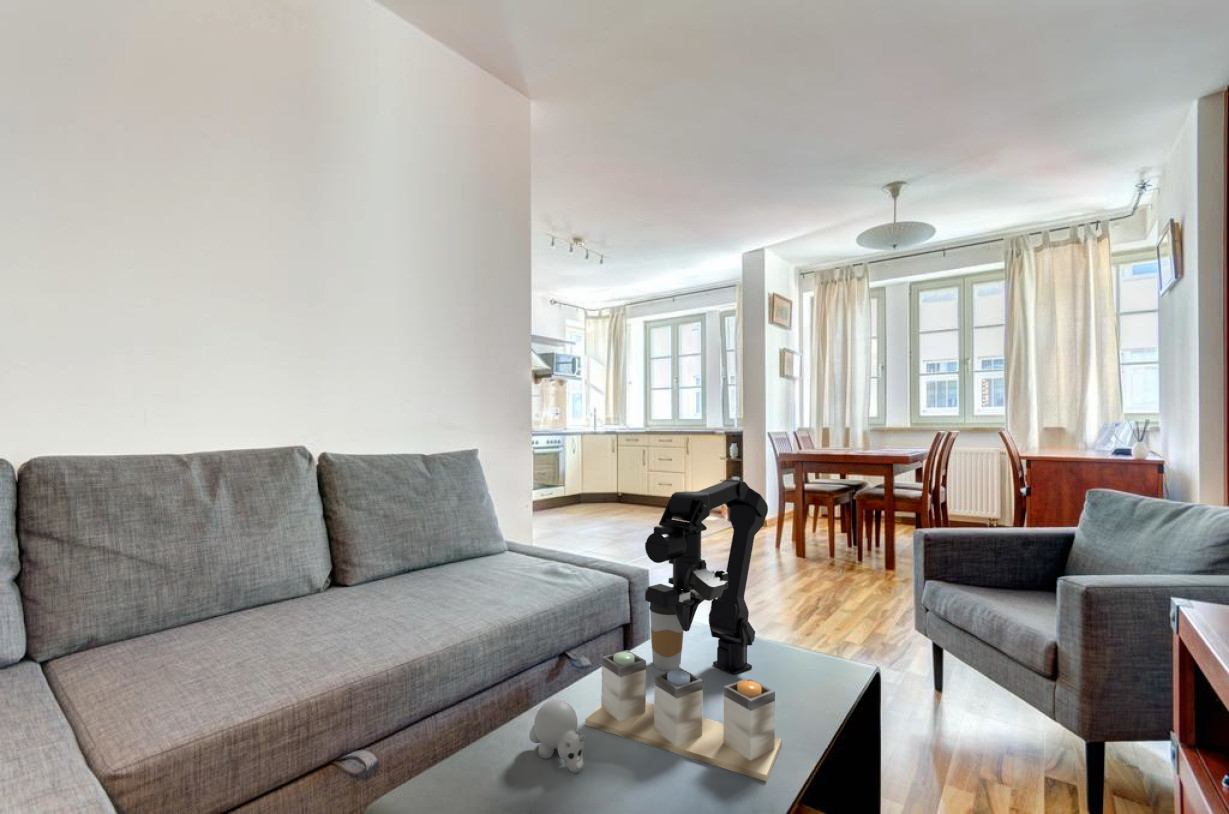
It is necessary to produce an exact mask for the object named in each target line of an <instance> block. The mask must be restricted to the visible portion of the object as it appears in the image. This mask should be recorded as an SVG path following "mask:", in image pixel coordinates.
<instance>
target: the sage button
mask: <svg viewBox="0 0 1229 814" xmlns="http://www.w3.org/2000/svg"><path fill="white" fill-rule="evenodd" d="M615 653H616V654H615ZM615 653H613V654H614V659H613V662H615V663H616V664H618V665H619V666H625V665H628V664H631V663H634V659H635V656H634V655H633V654H634V653H633V652H632V653H633V654H632V653H628V652H622V651H619V653H618V652H615Z"/></svg>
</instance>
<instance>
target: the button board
mask: <svg viewBox="0 0 1229 814" xmlns="http://www.w3.org/2000/svg"><path fill="white" fill-rule="evenodd" d="M619 652H620V651H619ZM619 652H615V653H611V654H609V655H604V656H602V657H601V700H600V701H601V705H600V706H599V707H597V708H596V709H595V710H594V711H593V712H591V714H590V715H589V716H588V717H586V719H584V720H585V721H584V722H585V726H587V727H591V728H594V729H598V730H601V731H603V732H607V733H609V734H613V735H616V736H620V737H623V738H625V739H629V740H632V741H636V742H639V743H641V742H642V743H641V744H645V745H648V746H651V747H654V746H655V748H658V749H662V750H663V751H667V750H668V751H667V752H671V753H673V752H674V753H675V754H677V755H680V756H683V757H687V758H690V759H693V760H697V761H699V762H703V763H705V764H709V765H712V766H715V767H718V768H721V769H725V770H728V771H731V772H735V773H737V774H741V775H744V776H748V777H751V778H754V779H757V780H760V781H764V782H767V781H768V779H769V776H770V774H771V772H772V770H773V767H774V765H775V762H776V759H777V757H778V754H779V753H780V751H781V748H782V746H783V739H782V738H779V737H776V735H775V734H776V733H775V729H776V727H775V726H776V691H775V690H773V689H772V688H769V687H767V686H766V685H763V684H762V683H759V682H757V681H756V680H753V679H751V678H749V677H746V678H744V679H741V680H738V681H736V682H733V683H730V684H726V685H724V686H723V722H719V721H717V720H713V719H709V718H706V717H704V716H703V712H704V711H703V709H704V708H703V704H704V703H703V701H704V698H703V696H704V695H703V694H704V691H703V690H704V689H703V688H704V680H703V679H701V678H700V677H698V676H696V675H694V674H692V673H691V672H689V671H687V670H685V669H684V668H681V667H678V668H677V669H674V670H681V671H685V672H687V673H689V674H690V683H687V684H684V685H681V686H678V687H677V686H675V685H673V684H672V683H670V682H668V681H667V674H668V672H670V671H673V670H667V671H664V672H663V673H662V672H661V673H659V674H656V675H654V699H653V700H654V703H652V702H647V701H646V697H647V696H646V695H647V694H646V693H647V692H646V691H647V689H646V688H647V683H646V682H647V660H645V659H644V658H642V657H640V656H638V655H637V654H635V653H633V652H631V651H630V650H628V649H627V650H623V651H621V652H628V653H632V654H633V655H634V656H635V659H634V663H631V664H628V665H625V666H619V665H618V664H616V663H615V662H613V659H614V654H616V653H619ZM740 681H753V682H756V683H758V684H760V685H761V695H758V696H756V697H753V698H751V699H750V698H749V697H747V696H745V695H743V694H741V693H739V692H737V684H738V683H739V682H740Z"/></svg>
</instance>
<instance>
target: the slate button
mask: <svg viewBox="0 0 1229 814" xmlns="http://www.w3.org/2000/svg"><path fill="white" fill-rule="evenodd" d="M669 671H670V672H668V671H667V672H668V674H667V681H668V682H670V683H672V684H673V685H675V686H677V687H678V686H681V685H684V684H687V683H690V674H689V673H690V672H689V673H687V672H688V671H687V672H685V671H686V670H685V671H681V670H673V671H671V670H669Z"/></svg>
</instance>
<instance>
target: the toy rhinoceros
mask: <svg viewBox="0 0 1229 814" xmlns="http://www.w3.org/2000/svg"><path fill="white" fill-rule="evenodd" d="M577 729H578V717H577V713H576V711H575V709H574V707H573V706H572V704H570V703H569V702H567V701H566V700H562V699H558V698H556V699H550V700H549V701H546V702H544V703H543V704H542V706H540V708H539V709H538V711H537V713H536V715H535V717H534V724H533V725H532V727H531V729H530V731H529V736H528V737H529V740H530V742H532V743H534V744H539V746H538V750H537V751H538V756H539V757H541V758H543V759H546V760H547V759H550V758H552V756H553V755H554V752H555V749H556V750H557V752H558V756H559V758H560V759H561V760H562V761H564V762H565V763H566V766H567V769H568V770H569V771H570V772H572V773H579V772H580V771H582V769H584V766H585V760H584V754H583V753H584V741H585V737H586V736H585V735H583V734H581V735H579V734H577V733H576V732H577Z"/></svg>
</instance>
